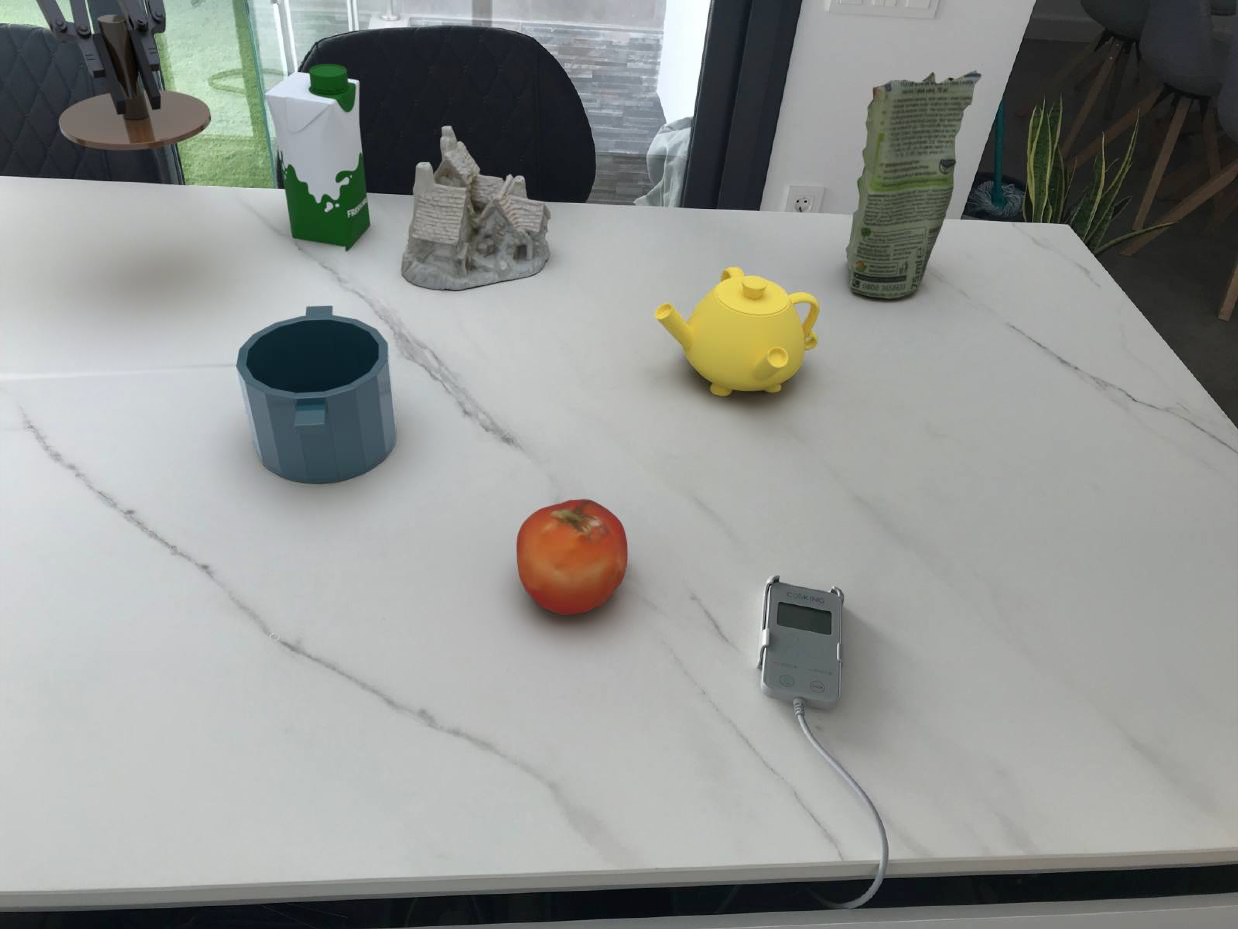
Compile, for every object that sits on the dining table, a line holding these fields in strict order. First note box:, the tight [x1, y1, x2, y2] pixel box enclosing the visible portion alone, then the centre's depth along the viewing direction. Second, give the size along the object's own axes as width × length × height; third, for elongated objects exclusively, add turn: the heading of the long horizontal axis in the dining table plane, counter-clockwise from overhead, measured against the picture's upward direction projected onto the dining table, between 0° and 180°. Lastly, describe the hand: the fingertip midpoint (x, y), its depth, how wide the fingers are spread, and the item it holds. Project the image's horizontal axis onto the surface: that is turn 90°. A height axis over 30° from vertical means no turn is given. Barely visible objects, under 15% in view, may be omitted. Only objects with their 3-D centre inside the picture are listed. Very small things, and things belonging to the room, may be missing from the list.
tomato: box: [515, 498, 629, 616], centre depth 77 cm, size 9×9×8 cm
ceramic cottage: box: [400, 125, 552, 291], centre depth 113 cm, size 16×16×15 cm
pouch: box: [845, 69, 983, 300], centre depth 113 cm, size 11×12×25 cm
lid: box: [58, 14, 212, 151], centre depth 93 cm, size 14×14×10 cm
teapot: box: [654, 266, 820, 397], centre depth 100 cm, size 14×14×11 cm
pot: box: [235, 305, 397, 484], centre depth 88 cm, size 13×18×10 cm
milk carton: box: [264, 63, 371, 251], centre depth 114 cm, size 9×9×20 cm
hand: (138, 104), depth 91 cm, fingers closed on lid, 2 cm apart
